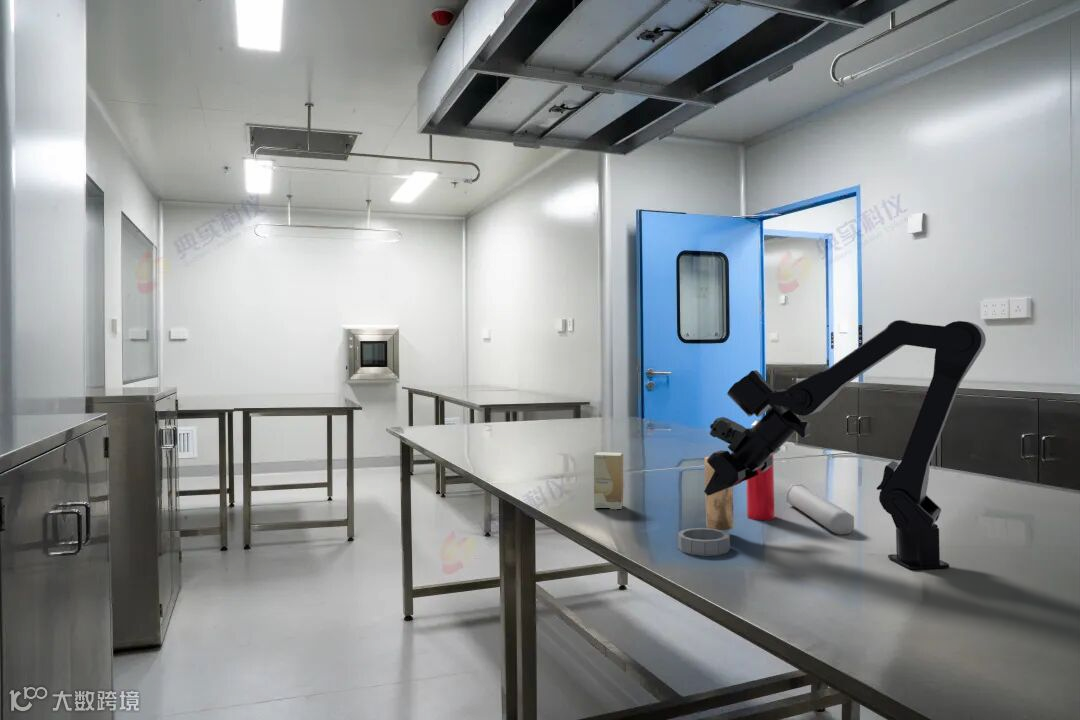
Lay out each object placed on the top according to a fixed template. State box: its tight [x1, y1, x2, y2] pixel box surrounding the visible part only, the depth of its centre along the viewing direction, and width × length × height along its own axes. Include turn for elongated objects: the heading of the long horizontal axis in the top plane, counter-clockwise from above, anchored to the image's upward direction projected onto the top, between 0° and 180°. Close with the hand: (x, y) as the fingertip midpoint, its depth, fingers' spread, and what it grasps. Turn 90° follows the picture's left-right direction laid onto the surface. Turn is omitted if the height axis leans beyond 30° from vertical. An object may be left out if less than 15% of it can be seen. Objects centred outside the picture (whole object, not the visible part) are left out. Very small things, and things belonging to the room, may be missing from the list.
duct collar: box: [677, 527, 731, 557], centre depth 123 cm, size 9×9×2 cm
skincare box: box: [593, 451, 624, 510], centre depth 157 cm, size 6×4×12 cm
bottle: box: [745, 419, 776, 521], centre depth 145 cm, size 5×5×20 cm
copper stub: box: [703, 455, 735, 531], centre depth 132 cm, size 5×5×13 cm
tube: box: [785, 483, 855, 536], centre depth 141 cm, size 5×5×25 cm
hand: (711, 490), depth 132 cm, fingers closed on copper stub, 5 cm apart
